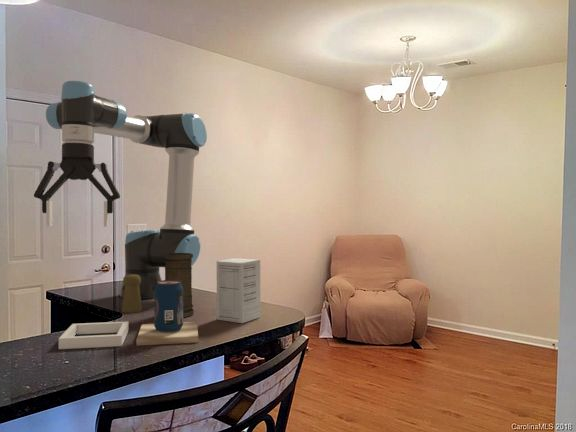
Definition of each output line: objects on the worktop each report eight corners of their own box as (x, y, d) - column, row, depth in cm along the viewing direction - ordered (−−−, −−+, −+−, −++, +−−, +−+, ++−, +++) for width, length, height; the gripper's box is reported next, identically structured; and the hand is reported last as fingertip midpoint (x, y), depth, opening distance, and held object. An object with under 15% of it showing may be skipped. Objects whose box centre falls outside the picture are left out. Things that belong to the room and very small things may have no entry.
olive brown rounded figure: (134, 313, 142) (134, 276, 141) (117, 311, 144) (117, 275, 143) (146, 309, 147) (146, 273, 147) (130, 307, 149) (130, 272, 149)
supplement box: (261, 317, 138) (262, 259, 137) (242, 324, 130) (243, 262, 129) (235, 313, 143) (235, 257, 142) (215, 319, 135) (215, 260, 134)
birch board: (141, 329, 123) (141, 324, 123) (196, 327, 126) (196, 321, 126) (136, 345, 109) (136, 339, 109) (198, 342, 112) (198, 336, 112)
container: (186, 318, 135) (186, 255, 135) (157, 317, 137) (157, 254, 137) (198, 312, 144) (198, 252, 144) (171, 310, 146) (171, 252, 145)
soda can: (154, 327, 120) (154, 279, 120) (182, 325, 122) (182, 279, 121) (153, 334, 113) (153, 284, 113) (183, 332, 115) (183, 283, 115)
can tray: (72, 333, 119) (72, 323, 119) (128, 330, 122) (128, 321, 122) (58, 349, 106) (58, 338, 106) (121, 346, 109) (121, 335, 109)
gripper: (19, 139, 115) (20, 227, 116) (127, 143, 120) (127, 226, 121) (29, 143, 122) (29, 225, 123) (130, 146, 128) (130, 225, 128)
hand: (78, 226), depth 122 cm, fingers open, 13 cm apart
